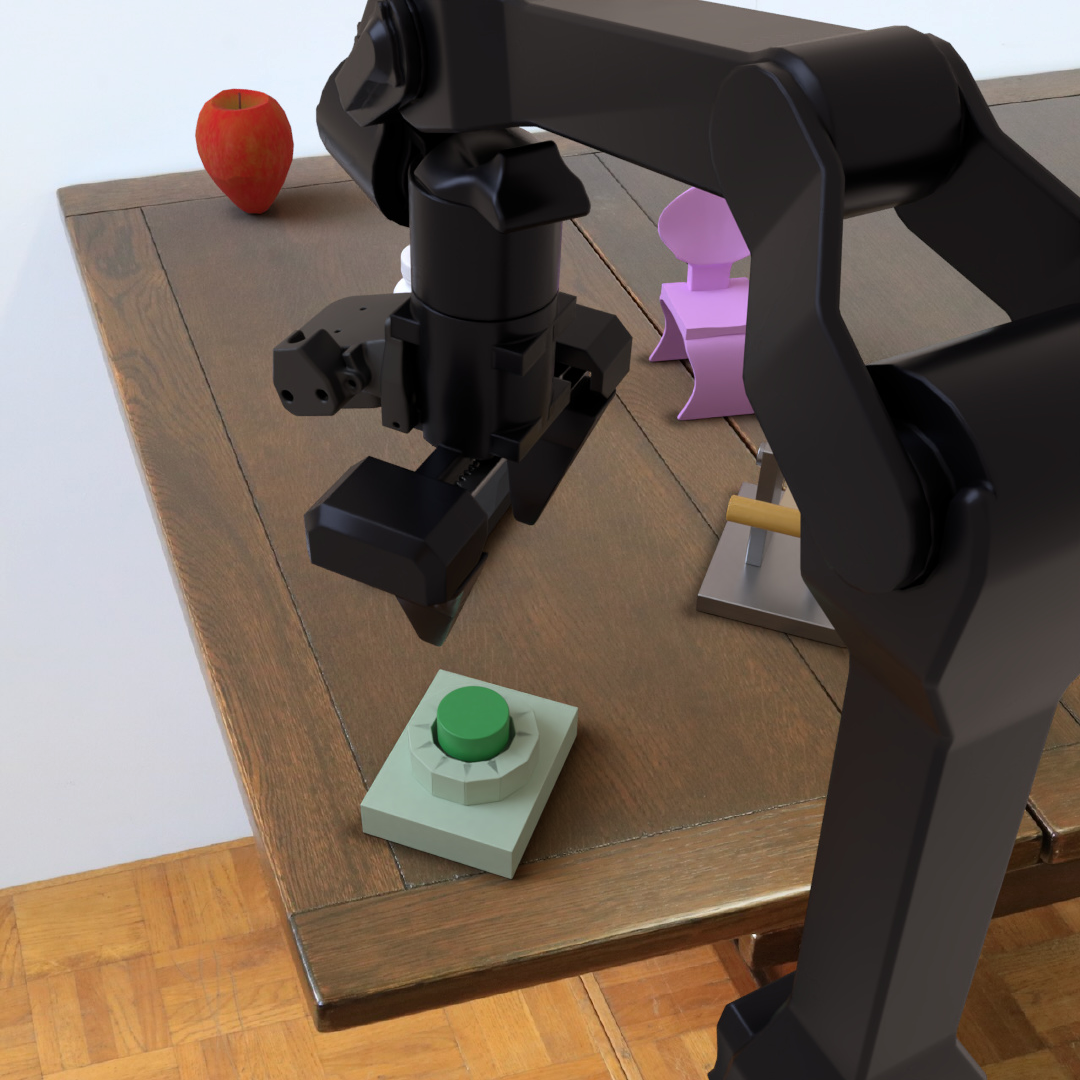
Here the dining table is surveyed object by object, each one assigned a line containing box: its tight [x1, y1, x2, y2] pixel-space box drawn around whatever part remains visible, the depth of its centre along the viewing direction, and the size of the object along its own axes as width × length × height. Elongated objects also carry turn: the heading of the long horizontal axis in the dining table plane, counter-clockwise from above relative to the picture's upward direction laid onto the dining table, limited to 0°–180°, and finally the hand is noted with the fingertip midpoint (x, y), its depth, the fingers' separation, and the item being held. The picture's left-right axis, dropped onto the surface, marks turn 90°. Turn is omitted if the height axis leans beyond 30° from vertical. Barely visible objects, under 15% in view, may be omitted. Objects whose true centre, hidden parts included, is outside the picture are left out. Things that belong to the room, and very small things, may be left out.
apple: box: [194, 88, 295, 215], centre depth 115 cm, size 9×8×11 cm
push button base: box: [360, 668, 579, 880], centre depth 68 cm, size 10×8×4 cm
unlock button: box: [437, 686, 509, 762], centre depth 66 cm, size 4×4×2 cm
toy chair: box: [648, 186, 755, 421], centre depth 94 cm, size 8×9×15 cm
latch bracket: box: [695, 441, 846, 648], centre depth 80 cm, size 12×9×10 cm
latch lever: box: [725, 479, 800, 538], centre depth 74 cm, size 11×6×2 cm, turn 160°
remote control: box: [475, 460, 512, 536], centre depth 85 cm, size 5×2×15 cm
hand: (480, 578), depth 61 cm, fingers open, 9 cm apart
